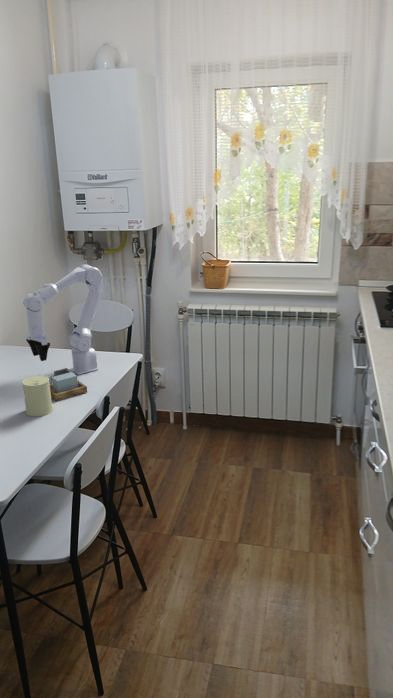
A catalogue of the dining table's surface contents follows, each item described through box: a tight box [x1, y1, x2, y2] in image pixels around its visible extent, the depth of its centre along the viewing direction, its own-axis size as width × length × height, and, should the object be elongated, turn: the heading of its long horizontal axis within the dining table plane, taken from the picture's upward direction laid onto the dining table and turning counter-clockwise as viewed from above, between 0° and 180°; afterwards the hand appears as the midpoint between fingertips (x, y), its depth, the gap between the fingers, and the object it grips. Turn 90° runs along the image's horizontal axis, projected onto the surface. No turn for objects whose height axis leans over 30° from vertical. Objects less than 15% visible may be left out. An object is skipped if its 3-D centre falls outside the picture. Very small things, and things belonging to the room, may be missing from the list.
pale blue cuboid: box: [51, 371, 79, 394], centre depth 206 cm, size 8×5×6 cm, turn 127°
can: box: [21, 375, 54, 417], centre depth 191 cm, size 9×9×12 cm
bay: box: [53, 367, 77, 377], centre depth 218 cm, size 6×9×4 cm, turn 37°
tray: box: [50, 380, 88, 402], centre depth 207 cm, size 13×11×2 cm
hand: (40, 357), depth 217 cm, fingers open, 7 cm apart
